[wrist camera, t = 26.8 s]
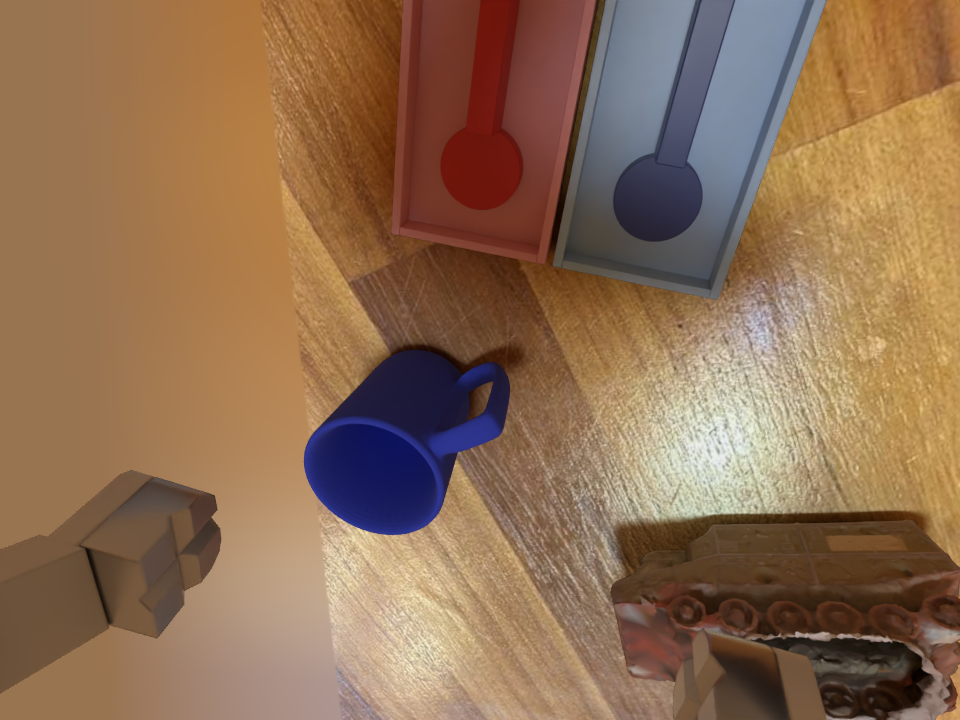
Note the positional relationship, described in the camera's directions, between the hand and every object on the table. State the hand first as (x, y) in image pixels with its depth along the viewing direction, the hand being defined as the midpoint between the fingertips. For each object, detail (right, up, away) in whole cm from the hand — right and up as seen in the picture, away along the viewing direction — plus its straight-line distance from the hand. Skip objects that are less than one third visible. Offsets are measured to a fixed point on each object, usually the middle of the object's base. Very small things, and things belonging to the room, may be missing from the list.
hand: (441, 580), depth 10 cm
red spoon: (+1, +18, +21) cm, 27 cm away
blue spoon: (+10, +16, +20) cm, 27 cm away
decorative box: (+20, -11, +33) cm, 41 cm away
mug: (-2, +3, +31) cm, 31 cm away
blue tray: (+10, +16, +20) cm, 28 cm away
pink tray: (+1, +18, +21) cm, 28 cm away
